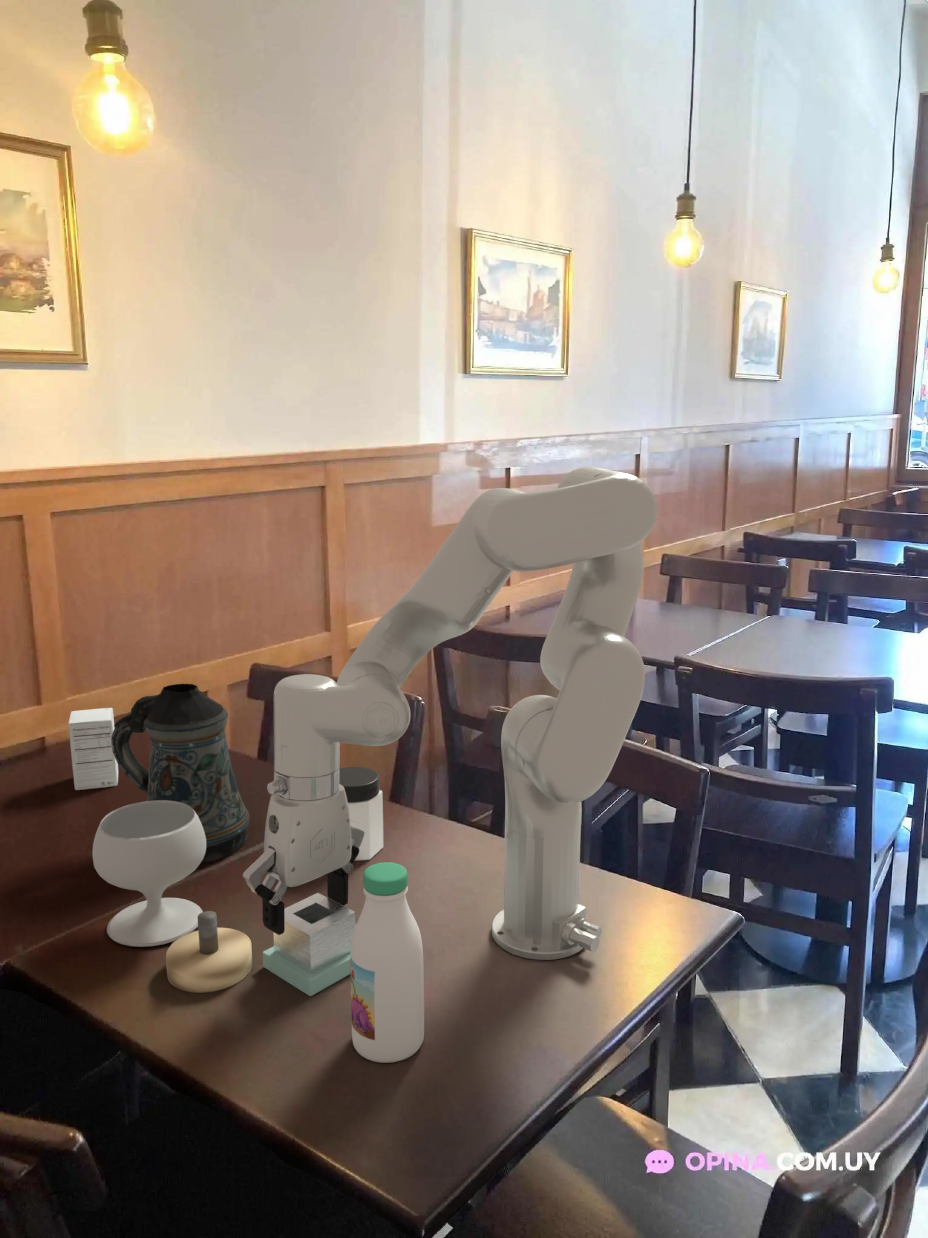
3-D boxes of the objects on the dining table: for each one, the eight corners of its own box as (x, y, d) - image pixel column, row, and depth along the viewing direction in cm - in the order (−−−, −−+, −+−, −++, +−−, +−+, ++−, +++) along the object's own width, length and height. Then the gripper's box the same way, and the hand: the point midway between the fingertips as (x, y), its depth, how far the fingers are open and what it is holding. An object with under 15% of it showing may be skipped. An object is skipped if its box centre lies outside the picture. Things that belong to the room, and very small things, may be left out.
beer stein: (258, 855, 147) (251, 697, 141) (123, 877, 140) (109, 712, 134) (241, 813, 162) (233, 668, 156) (118, 831, 155) (105, 681, 149)
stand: (368, 963, 118) (367, 937, 118) (310, 996, 112) (309, 969, 111) (320, 937, 124) (319, 912, 124) (263, 966, 118) (261, 940, 117)
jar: (324, 863, 144) (322, 788, 141) (324, 839, 152) (322, 767, 149) (384, 860, 145) (383, 785, 143) (382, 836, 153) (380, 765, 150)
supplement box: (76, 776, 178) (70, 710, 175) (119, 771, 180) (114, 706, 177) (73, 791, 171) (67, 723, 168) (118, 786, 173) (112, 719, 170)
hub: (269, 966, 118) (266, 914, 116) (197, 1003, 111) (193, 948, 109) (221, 936, 124) (218, 886, 123) (151, 969, 117) (147, 917, 116)
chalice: (83, 920, 128) (73, 815, 125) (183, 887, 137) (176, 788, 134) (123, 966, 118) (114, 853, 114) (229, 927, 127) (223, 821, 123)
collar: (356, 949, 118) (355, 912, 117) (311, 973, 113) (309, 935, 112) (319, 928, 123) (317, 892, 121) (274, 951, 117) (272, 914, 116)
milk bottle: (424, 1018, 108) (423, 853, 104) (423, 1064, 101) (422, 888, 96) (355, 1019, 108) (350, 854, 103) (349, 1066, 100) (344, 889, 96)
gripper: (265, 811, 104) (266, 955, 108) (383, 771, 117) (380, 901, 120) (225, 791, 109) (227, 929, 113) (342, 755, 122) (340, 880, 125)
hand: (306, 915), depth 116 cm, fingers open, 9 cm apart
